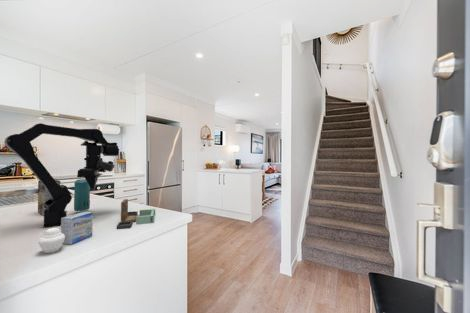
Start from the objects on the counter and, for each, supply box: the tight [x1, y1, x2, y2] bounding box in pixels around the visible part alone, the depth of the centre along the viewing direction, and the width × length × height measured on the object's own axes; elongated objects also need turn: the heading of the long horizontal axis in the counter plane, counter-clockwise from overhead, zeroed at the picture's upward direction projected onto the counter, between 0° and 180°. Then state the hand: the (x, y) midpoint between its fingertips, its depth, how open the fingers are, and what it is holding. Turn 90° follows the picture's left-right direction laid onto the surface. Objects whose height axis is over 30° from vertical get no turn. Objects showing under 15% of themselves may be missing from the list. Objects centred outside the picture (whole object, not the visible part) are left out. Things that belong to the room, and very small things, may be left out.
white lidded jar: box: [37, 227, 65, 254], centre depth 62 cm, size 6×6×7 cm
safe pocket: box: [136, 208, 156, 225], centre depth 94 cm, size 7×12×3 cm, turn 19°
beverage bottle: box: [73, 173, 91, 212], centre depth 102 cm, size 6×7×20 cm
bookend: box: [120, 198, 150, 224], centre depth 93 cm, size 11×7×9 cm, turn 109°
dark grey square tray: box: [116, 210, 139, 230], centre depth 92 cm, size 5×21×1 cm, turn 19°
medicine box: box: [60, 211, 94, 246], centre depth 70 cm, size 8×4×9 cm, turn 168°
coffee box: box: [37, 178, 61, 217], centre depth 100 cm, size 9×6×16 cm
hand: (92, 189), depth 96 cm, fingers closed
